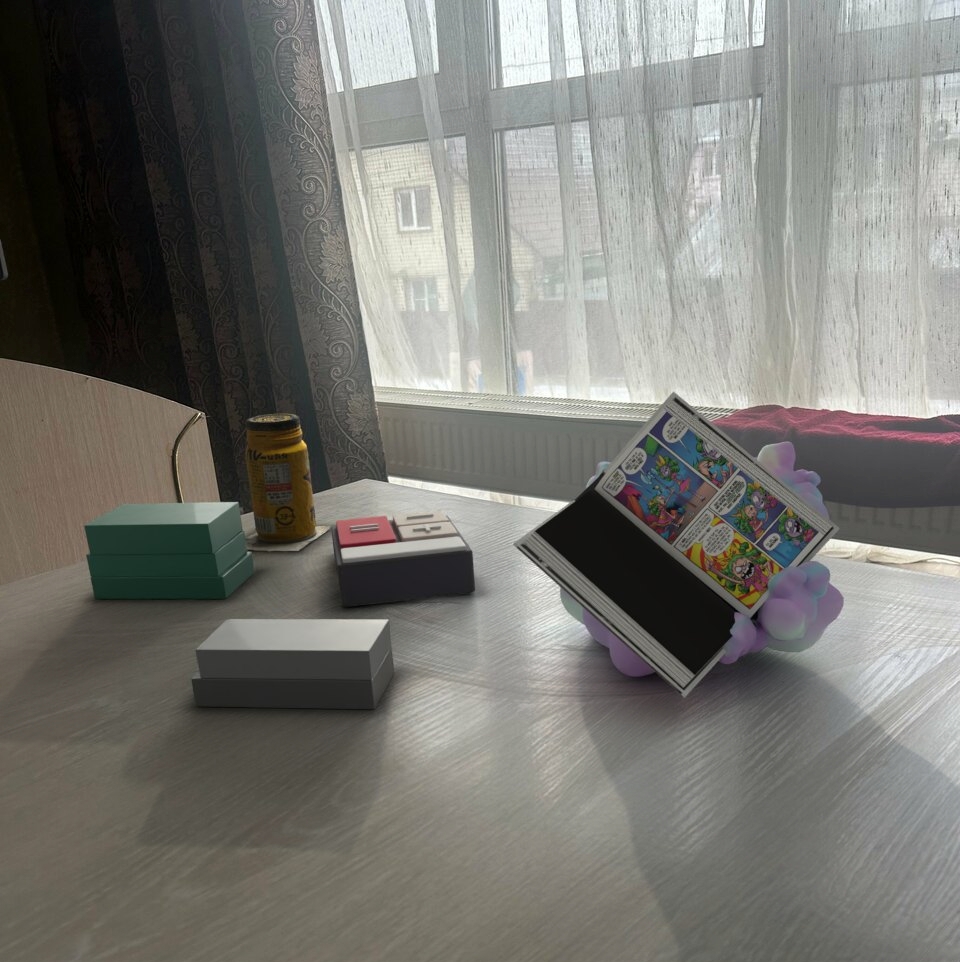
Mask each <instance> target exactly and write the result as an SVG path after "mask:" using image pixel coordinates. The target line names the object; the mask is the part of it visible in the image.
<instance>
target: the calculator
mask: <svg viewBox="0 0 960 962" xmlns="http://www.w3.org/2000/svg"><path fill="white" fill-rule="evenodd" d="M330 530H331V538H332V539H331V540H332V546H333V554H334V555H333V556H334V561H335V567H336V575H337V582H338V589H339V595H340V602H341V605H342V607H344V608H345V607H346V608H347V607H358V606H364V605H365V606H366V605H375V604H383V603H393V602H401V601H402V602H403V601H411V600H419V599H420V600H421V599H428V598H437V597H446V596H456V595H465V594H472V593H474V592H475V591H476V583H475V581H476V580H475V567H474V566H475V565H474V553H473V550H472V548H471V546H470V545H469V544H468V543H467V541H466V540H465V538H464V537H463V535H462V534H461V533H460V531H459V530H458V528H457V527H456V526H455V524H454V523H453V521H452V520H451V518H450V517H449V516H448V515H447V514H445V512H444V511H443V510H442V509H441V510H440V509H439V510H428V511H418V512H408V513H399V514H393V515H392V519H389V518H388V517H387V515H379V516H377V515H376V516H369V517H358V518H349V519H340V520H336V521H335V525H331V528H330Z"/></svg>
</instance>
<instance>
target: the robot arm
mask: <svg viewBox="0 0 960 962" xmlns="http://www.w3.org/2000/svg"><path fill="white" fill-rule="evenodd" d="M8 276H9V273H8V269H7V264H6V259H5V255H4V250H3V247H2V242H1V240H0V281H4V280H6V279H7V278H8Z"/></svg>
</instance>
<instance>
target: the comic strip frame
mask: <svg viewBox="0 0 960 962" xmlns="http://www.w3.org/2000/svg"><path fill="white" fill-rule="evenodd" d="M796 455H797V454H796V451H795V447H794V444H793V443H792V442H791V441H782V442H778V443H770V444H766V445H764V446H763V447H762V448H761V449H760V451H759V453H758V455H757V456H755V457H754V456H753V455H751V454H750V453H749V452H748V451H746V450H745V449H744V448H743V447H742V446H740V445H739V444H738V443H737V442H735V440H734V439H732V438H731V437H730V436H729V435H728V434H726V433H725V432H724V431H723V430H721V429H720V428H719V427H717V426H716V425H715V424H714V423H713V422H712V421H710V420H709V419H708V418H707V417H705V416H704V415H703V414H702V413H700V412H699V411H698V410H697V409H696V408H695V407H693V406H692V405H691V404H690V403H689V402H687V401H686V400H685V399H683V397H681V396H680V395H679V394H678V393H676V392H675V391H672V392H671V393H670V395H669V396H668V397H667V398H666V399H665V400H664V401H663V402H662V404H661V405H660V406H659V407H658V408H657V410H656V411H654V413H653V414H652V415H651V416H650V417H649V419H648V420H647V421H646V422H645V423H644V424H643V426H642V427H641V428H640V429H639V430H638V431H637V432H636V433H635V435H633V437H632V438H631V439H630V440H629V441H628V442H627V444H626V445H625V446H624V447H623V448H622V449H621V450H620V452H619V453H618V454H617V455H616V456H615V458H613V460H612V461H611V462H610V461H608V460H605V461H600V462H598V464H597V467H596V472H595V475H593V476H592V477H590V478H589V480H588V482H587V483H586V486H585V489H584V490H583V491H582V492H581V493H580V494H579V495H578V496H577V497H576V498H575V499H572V500H571V501H570V502H569V503H567V504H566V505H565V506H563V507H562V508H560V509H559V510H558V511H556V512H554V514H552V515H551V516H549V517H548V518H546V519H545V520H544V521H542V522H541V523H539V524H538V525H537V526H536V527H534V528H533V529H531V530H530V531H528V532H527V533H525V534H524V535H523V536H521V537H520V538H518V539H517V540H515V541H514V542H513V544H512V545H513V546H514V547H515V548H516V549H517V550H518V551H519V552H521V553H522V554H523V555H524V556H525V557H526V558H527V559H528V560H529V561H531V563H533V564H534V565H535V566H536V567H537V568H538V569H539V570H540V571H542V572H543V573H544V574H545V575H546V576H547V577H549V579H551V580H552V581H553V582H554V583H555V584H556V585H557V586H559V597H560V598H559V599H560V601H561V604H562V606H563V608H564V609H565V611H566V612H567V613H568V614H569V615H570V616H571V617H572V618H573V619H574V620H576V621H577V622H579V623H581V624H582V625H584V627H585V629H586V630H587V632H588V633H589V634H590V636H591V637H592V638H593V639H594V640H595V641H596V642H598V643H599V644H600V645H603V646H604V647H606V648H608V649H609V656H610V659H611V661H612V664H613V665H614V667H615V668H616V669H617V670H618V671H619V672H620V673H622V674H624V675H625V676H628V677H631V678H633V677H634V678H637V677H639V678H640V677H644V676H649V675H651V674H654V673H655V674H657V675H658V676H659V677H660V678H662V679H663V681H665V682H666V683H667V684H668V685H670V687H672V689H674V690H675V691H676V692H677V693H678V694H679V695H680V696H682V698H686V697H687V696H688V695H689V693H691V692H692V690H693V689H694V688H695V687H696V686H697V685H698V684H699V683H700V682H701V681H702V679H704V677H705V676H706V675H707V674H708V673H709V672H710V671H711V670H712V668H713V667H714V666H715V665H716V664H717V663H718V662H720V663H721V664H723V665H730V664H733V663H736V662H737V660H738V659H739V658H740V657H743V656H746V655H747V654H750V653H751V654H752V653H758V652H761V651H763V650H764V649H766V648H768V649H771V650H775V651H779V652H785V653H799V654H800V653H801V652H804V651H806V650H808V649H810V648H812V647H813V646H815V644H816V643H817V642H818V641H820V640H821V638H822V636H823V634H824V632H825V631H826V629H827V627H828V626H830V625H831V624H832V623H833V622H834V621H836V620H837V619H838V617H839V615H840V614H841V612H842V610H843V608H844V601H845V597H844V596H843V594H842V593H841V591H840V590H839V589H838V588H836V587H835V586H834V585H833V584H832V583H831V582H830V580H831V572H830V569H829V568H828V567H827V566H826V565H825V564H823V563H822V562H820V561H818V560H812V559H813V558H814V557H815V556H816V555H817V554H818V553H819V552H820V551H821V550H822V549H823V548H824V547H825V545H826V544H827V543H829V541H830V540H831V539H832V538H833V537H834V536H835V535H836V533H837V532H839V530H840V529H841V528H840V527H839V526H837V525H836V524H835V523H834V522H833V521H832V520H831V519H830V515H829V513H828V510H827V507H826V506H825V505H824V502H823V494H822V493H821V491H820V490H819V488H818V487H817V486H818V485H819V484H820V483H821V477H820V474H819V475H818V473H817V472H815V471H812V470H811V471H808V470H806V469H803V468H802V469H798V470H796V471H795V470H794V465H795V462H796V457H797V456H796Z"/></svg>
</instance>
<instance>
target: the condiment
mask: <svg viewBox="0 0 960 962" xmlns="http://www.w3.org/2000/svg"><path fill="white" fill-rule="evenodd" d="M244 426H245V430H246V439H245V440H246V442H247V446H246V448H245V451H244V454H245V460H246V461H245V462H246V469H247V476H248V484H249V491H250V497H251V504H252V512H253V521H254V526H255V527H254V529H255V533H252V534H251V535H249V536H245V540H246V547H247V551H249V550H252V551H267V552H268V553H270V552H275V551H277V552H279V551H280V552H288V551H289V552H299V551H300V550H301V549H303V548H305V547H306V545H308V544H310V543H311V542H313V541H314V540H316V539H318V538H319V537H321V536H322V535H323V534H324V533H326V532H327V531H330V530H331V528H332V525H317V521H316V510H315V502H314V494H313V486H312V485H313V483H312V477H311V469H310V468H311V467H310V460H309V451H308V447H307V443H306V442H305V441H304V440H303V439H302V438H303V430H302V429H301V420H300V416H298V415H296V414H293V413H270V414H262V415H257V416H256V415H255V416H253V417H249V418H247V419H246V420H245V424H244Z"/></svg>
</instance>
